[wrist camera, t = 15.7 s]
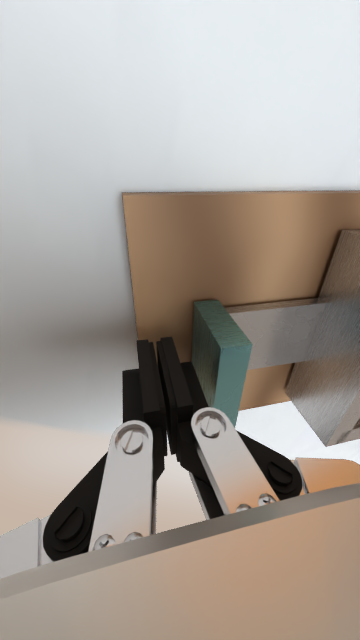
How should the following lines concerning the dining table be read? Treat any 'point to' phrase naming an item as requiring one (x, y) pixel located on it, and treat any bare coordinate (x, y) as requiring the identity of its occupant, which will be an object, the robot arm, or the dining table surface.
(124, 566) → the robot arm
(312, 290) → the board
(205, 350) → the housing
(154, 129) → the dining table surface
